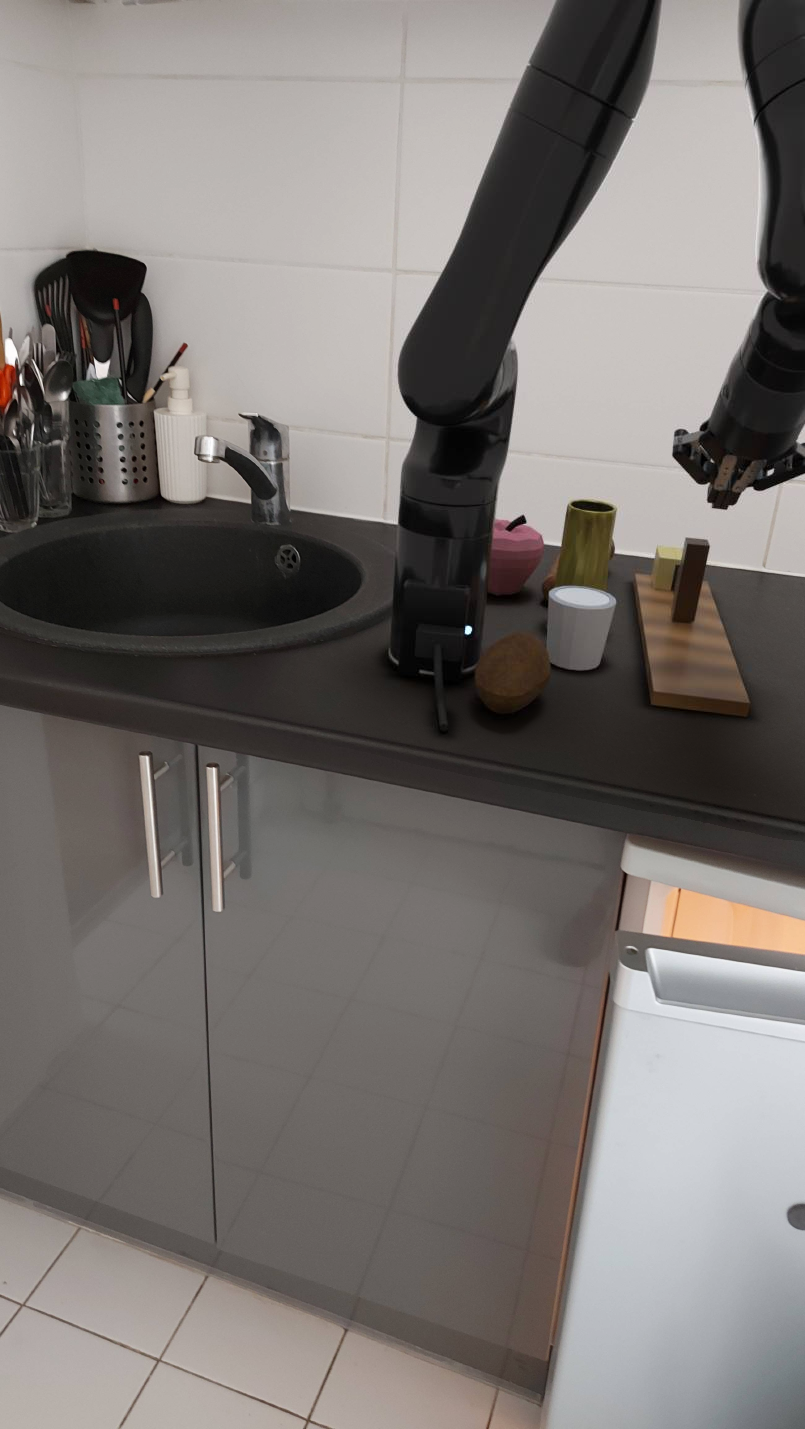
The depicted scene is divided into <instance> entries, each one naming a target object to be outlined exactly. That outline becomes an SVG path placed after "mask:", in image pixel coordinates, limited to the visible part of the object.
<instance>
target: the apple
mask: <svg viewBox="0 0 805 1429" xmlns="http://www.w3.org/2000/svg"><path fill="white" fill-rule="evenodd" d="M527 523H528V522H527V518H526V516H525V515H524V514H522V515H520V516H518V517H516V518H515V519H513V520H512V521H510V520H509V519H498V518H495V527H494V534H493V543H492V553H491V562H490V571H489V580H488V590H487V594H489V595H494V596H497V597H498V596H499V597H500V596H511V595H515V594H516V593H519V592H520V591H521V590H522V588H523V587H524V586H525V584H526V583H527V581H528V579H530V577H531V576H532V575H533V573H534V572H535V570H536V569H537V567H538V566H539V565H540V563H541V561H542V558H543V555H544V552H545V541H544V538H543V535H542V533H540V532H539V531H537V530H536V529H534V528H533V527H532V526H529V525H526V524H527Z"/></svg>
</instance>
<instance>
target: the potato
mask: <svg viewBox="0 0 805 1429" xmlns="http://www.w3.org/2000/svg"><path fill="white" fill-rule="evenodd" d="M551 669H552V667H551V663H550V660H549V655H548V652H547V647H546V646H545V645H544V643H543V642H542V640H541V639H540V638H538V637H537V636H536V635H535V634H533V633H532V632H530V631H523V630H518V631H514V632H511V633H508V634H506V635H504V636H502V637H501V638H499V639H498V640H497V641H495V642H493V643H492V644H491V645H490V646H489V647H488V648H487V649H486V650H485V651H484V652H483V653H481V656H480V658H479V660H478V663H477V665H476V668H475V672H474V686H475V690H476V693H477V696H478V697H479V699H480V700H481V701H482V703H483V704H484V706H485V707H486V708H488V710H490V711H491V712H493V713H495V714H499V715H509V714H514V713H516V712H518V711H520V710H522V709H523V708H526V706H528V705H529V704H531V702H532V701H534V700H535V699H536V698H537V697H538V696H539V695H540V694H541V693H542V691H543V690H544V689H545V687H546V686H547V685H548V683H549V681H550V677H551Z"/></svg>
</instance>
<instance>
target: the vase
mask: <svg viewBox="0 0 805 1429" xmlns="http://www.w3.org/2000/svg"><path fill="white" fill-rule="evenodd" d="M617 512H618V508H617V506H615V505H614V504H612V503H610V502H606V501H603V500H597V499H588V498H580V499H579V498H578V499H572V500H570V501H568V502H567V505H566V510H565V517H564V523H563V525H564V526H563V532H562V536H561V545H560V552H559V554H560V557H559V563H558V569H557V575H556V580H555V587H554V588H557V587H561V586H582V587H589V588H594V589H598V590H601V591H604V592H606V593H607V584H608V576H609V568H610V561H611V560H610V552H611V545H612V539H613V536H614V531H615V524H616V517H617ZM546 622H547V623H546V629H547V627H548V621H546Z"/></svg>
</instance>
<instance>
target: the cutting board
mask: <svg viewBox="0 0 805 1429" xmlns="http://www.w3.org/2000/svg"><path fill="white" fill-rule="evenodd" d="M651 575H652V574H645V573H637V572H636V573H635V572H634V578H633V582H632V586H633V592H634V600H635V604H636V605H635V606H636V612H637V620H638V626H639V633H640V639H641V646H642V653H643V659H644V666H645V673H646V680H647V686H648V694H649V699H650V705H651V706H657V707H665V708H673V709H681V710H688V711H689V710H690V711H697V712H705V713H713V714H721V715H729V716H738V717H745V718H747V717H748V715H749V710H750V706H751V701H750V699H749V698H750V697H749V696H748V693H747V690H746V688H745V685H744V682H743V679H742V675H741V673H740V671H739V667H738V664H737V662H736V659H735V656H734V653H733V650H732V648H731V645H730V641H729V639H728V636H727V632H726V631H725V628H724V625H723V622H722V619H721V616H720V613H719V611H718V607H717V605H716V602H715V600H714V597H713V593H712V591H711V587H710V584H709V582H708V581H707V580H703V582H702V587H701V592H700V597H699V601H698V606H697V611H696V616H695V621H694V622H692V621H684V620H675V619H673V618H672V614H671V609H672V604H673V599H674V594H675V592H674V588H673V584H672V586H671V590H670V591H669V590H660V589H654V586H653V581H652V576H651Z"/></svg>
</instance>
